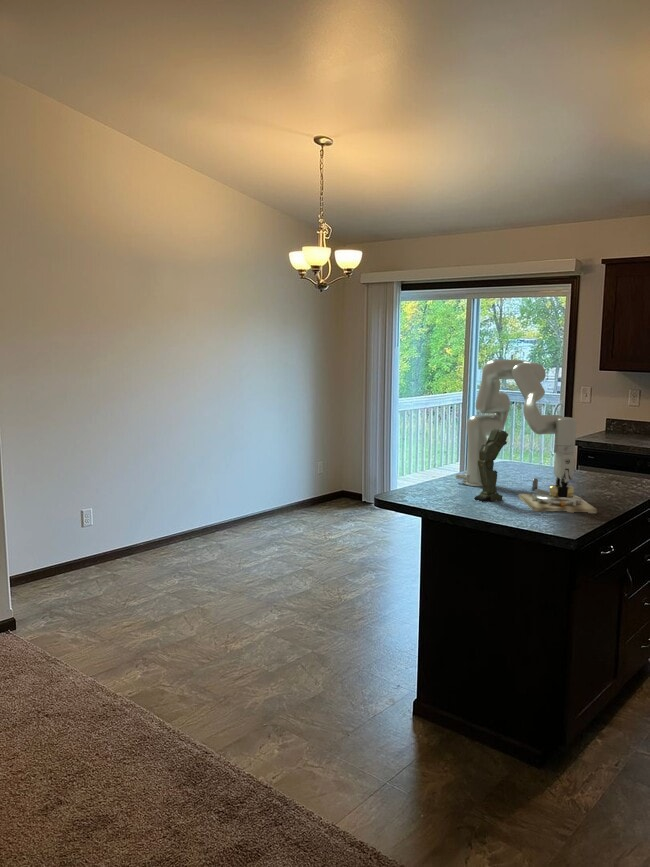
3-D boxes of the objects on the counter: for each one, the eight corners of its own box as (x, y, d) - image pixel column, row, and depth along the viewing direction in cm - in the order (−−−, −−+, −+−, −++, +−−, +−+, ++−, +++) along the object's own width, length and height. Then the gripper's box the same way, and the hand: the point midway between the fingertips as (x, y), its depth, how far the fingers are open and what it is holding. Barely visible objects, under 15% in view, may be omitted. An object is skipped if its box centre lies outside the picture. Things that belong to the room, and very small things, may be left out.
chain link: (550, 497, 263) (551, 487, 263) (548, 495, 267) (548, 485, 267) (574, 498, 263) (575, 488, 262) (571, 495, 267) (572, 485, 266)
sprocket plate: (533, 511, 260) (533, 506, 260) (518, 497, 284) (518, 493, 284) (596, 513, 259) (597, 508, 259) (576, 499, 283) (577, 495, 283)
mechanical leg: (476, 501, 271) (494, 427, 270) (465, 497, 277) (482, 425, 277) (502, 506, 277) (519, 434, 277) (490, 502, 284) (507, 432, 283)
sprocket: (574, 508, 258) (576, 491, 257) (520, 500, 270) (521, 484, 269) (586, 499, 274) (588, 483, 273) (534, 492, 286) (535, 477, 285)
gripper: (581, 453, 254) (577, 501, 257) (567, 446, 271) (564, 491, 273) (560, 452, 255) (557, 500, 257) (548, 445, 271) (545, 491, 273)
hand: (560, 495), depth 265 cm, fingers closed on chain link, 3 cm apart
